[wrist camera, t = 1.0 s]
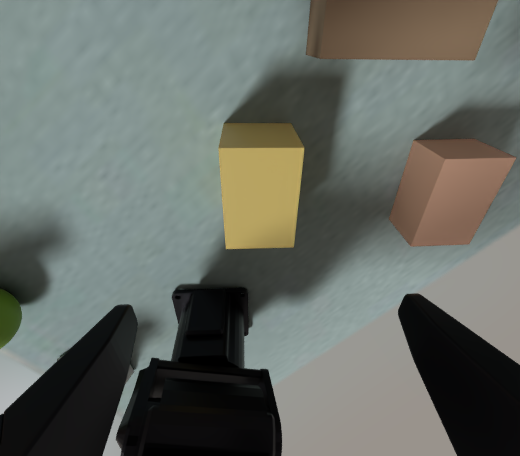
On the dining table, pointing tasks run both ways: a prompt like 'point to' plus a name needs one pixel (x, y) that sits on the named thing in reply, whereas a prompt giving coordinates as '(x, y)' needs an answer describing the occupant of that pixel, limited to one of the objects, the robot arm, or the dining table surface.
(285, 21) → the dining table surface
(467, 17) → the walnut block
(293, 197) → the mustard brick
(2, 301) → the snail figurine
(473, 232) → the terracotta brick
